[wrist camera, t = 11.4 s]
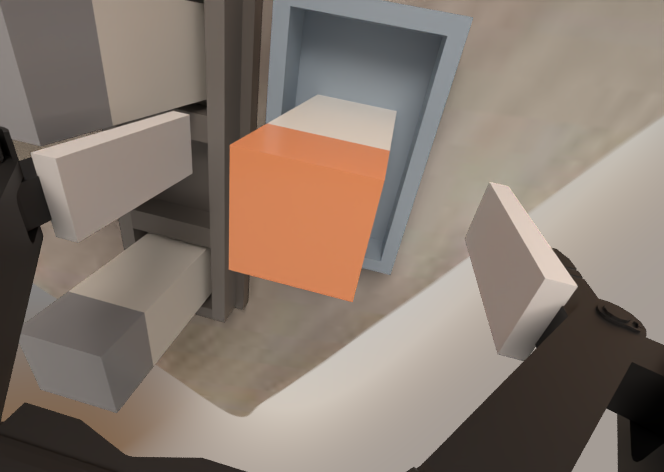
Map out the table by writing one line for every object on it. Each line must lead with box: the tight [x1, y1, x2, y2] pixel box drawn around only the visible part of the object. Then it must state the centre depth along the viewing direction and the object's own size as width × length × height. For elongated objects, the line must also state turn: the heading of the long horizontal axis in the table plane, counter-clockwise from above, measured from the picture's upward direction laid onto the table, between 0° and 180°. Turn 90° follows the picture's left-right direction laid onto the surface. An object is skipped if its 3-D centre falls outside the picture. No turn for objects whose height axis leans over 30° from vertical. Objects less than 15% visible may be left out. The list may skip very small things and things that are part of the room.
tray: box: [266, 0, 473, 275], centre depth 19 cm, size 14×9×3 cm, turn 170°
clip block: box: [102, 0, 263, 322], centre depth 22 cm, size 23×9×3 cm, turn 170°
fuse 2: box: [19, 232, 212, 413], centre depth 22 cm, size 4×4×11 cm
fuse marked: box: [229, 95, 397, 302], centre depth 15 cm, size 4×4×11 cm
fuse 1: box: [0, 0, 207, 146], centre depth 14 cm, size 4×4×11 cm
